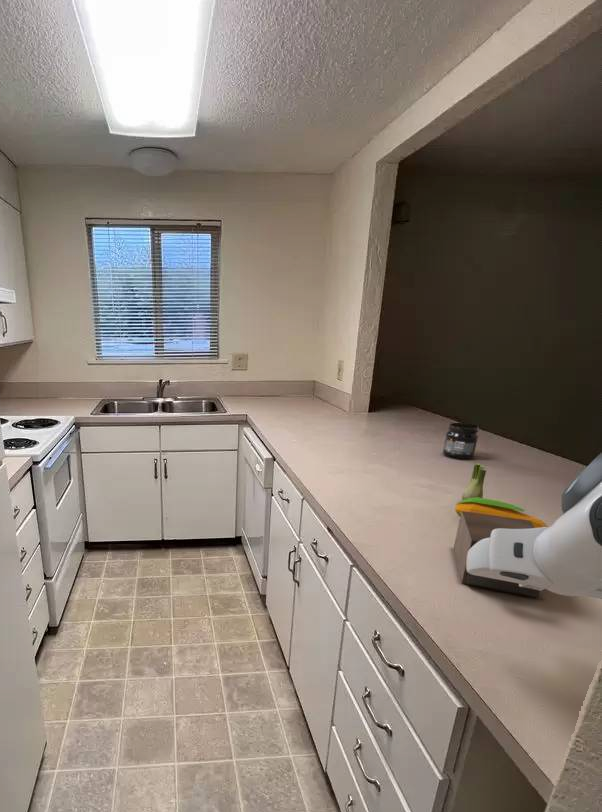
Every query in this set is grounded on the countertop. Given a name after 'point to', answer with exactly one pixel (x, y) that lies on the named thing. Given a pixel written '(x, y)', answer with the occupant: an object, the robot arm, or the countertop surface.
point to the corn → (495, 509)
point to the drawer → (500, 584)
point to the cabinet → (481, 536)
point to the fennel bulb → (475, 483)
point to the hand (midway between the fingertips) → (529, 583)
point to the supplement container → (460, 441)
